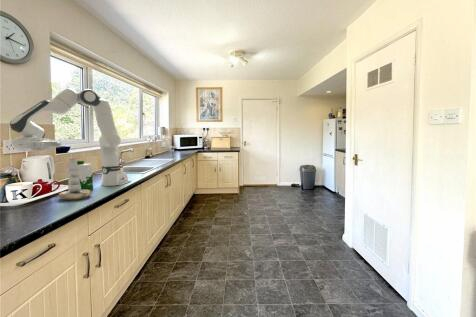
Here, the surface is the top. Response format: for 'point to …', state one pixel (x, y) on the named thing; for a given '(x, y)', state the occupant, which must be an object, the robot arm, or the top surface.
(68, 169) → the plastic bottle
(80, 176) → the milk carton
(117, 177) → the robot arm
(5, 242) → the top surface
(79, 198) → the turntable base
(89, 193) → the disc
